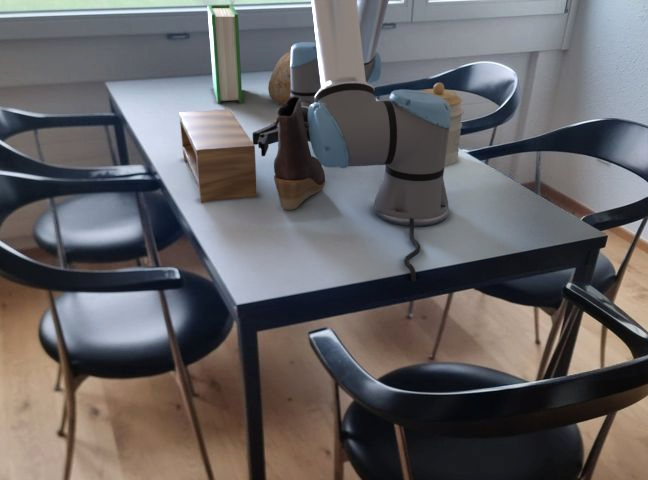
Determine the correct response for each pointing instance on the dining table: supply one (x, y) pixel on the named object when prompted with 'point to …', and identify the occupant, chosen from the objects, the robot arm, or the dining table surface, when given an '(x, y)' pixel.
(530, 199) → the dining table surface
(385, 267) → the dining table surface
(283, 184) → the boot
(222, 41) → the hardback book
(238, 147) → the shoe rack
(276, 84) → the bread
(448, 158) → the jar
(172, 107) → the dining table surface
